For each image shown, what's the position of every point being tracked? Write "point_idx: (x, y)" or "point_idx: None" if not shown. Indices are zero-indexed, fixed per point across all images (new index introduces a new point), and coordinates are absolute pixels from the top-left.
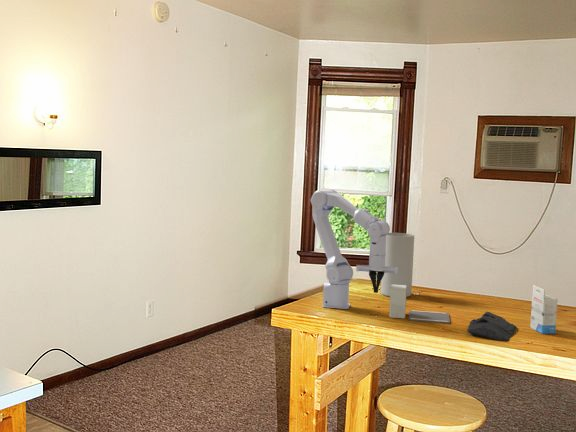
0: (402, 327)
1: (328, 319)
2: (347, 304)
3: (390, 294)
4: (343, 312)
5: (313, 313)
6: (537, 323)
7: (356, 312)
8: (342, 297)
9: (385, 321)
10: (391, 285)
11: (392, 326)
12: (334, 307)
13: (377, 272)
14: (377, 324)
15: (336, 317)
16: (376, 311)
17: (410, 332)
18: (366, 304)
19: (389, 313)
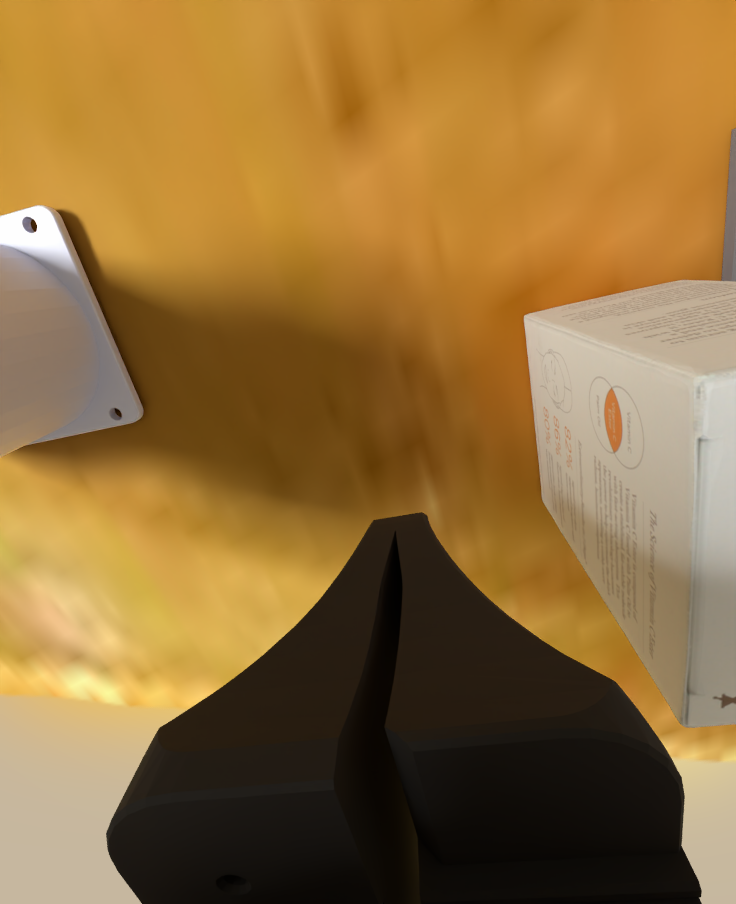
0: (657, 689)
1: (191, 706)
2: (87, 354)
3: (637, 649)
4: (170, 516)
5: (34, 629)
6: None
7: (251, 467)
8: (13, 445)
9: (528, 609)
10: (698, 473)
11: None
12: (38, 441)
13: (423, 893)
14: None
15: (204, 652)
16: (388, 339)
17: (707, 755)
18: (176, 35)
19: (551, 514)
